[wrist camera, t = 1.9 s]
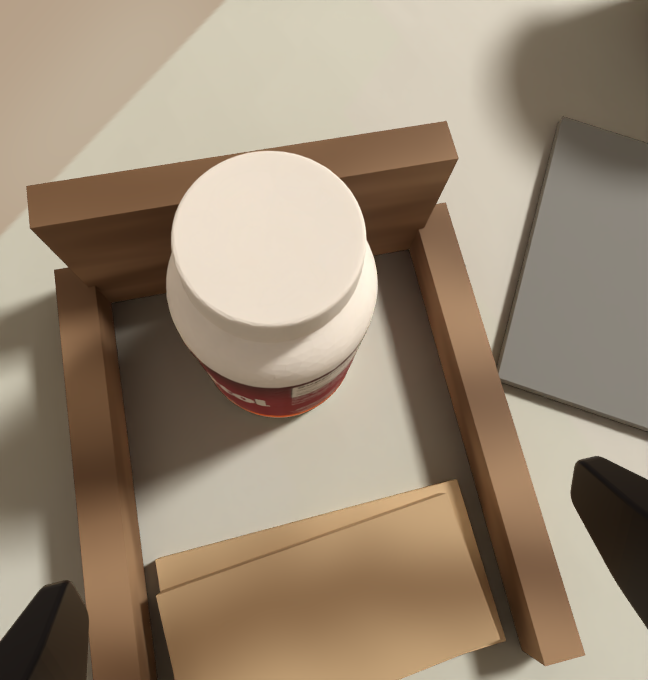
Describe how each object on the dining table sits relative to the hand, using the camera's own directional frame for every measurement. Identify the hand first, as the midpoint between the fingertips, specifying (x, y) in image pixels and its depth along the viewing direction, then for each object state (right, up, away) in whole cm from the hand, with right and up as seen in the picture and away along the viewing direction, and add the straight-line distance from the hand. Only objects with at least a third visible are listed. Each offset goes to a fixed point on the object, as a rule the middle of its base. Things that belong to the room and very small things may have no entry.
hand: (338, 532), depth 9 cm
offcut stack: (0, -7, +12) cm, 14 cm away
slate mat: (+16, +6, +16) cm, 23 cm away
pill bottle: (-2, +3, +14) cm, 15 cm away
